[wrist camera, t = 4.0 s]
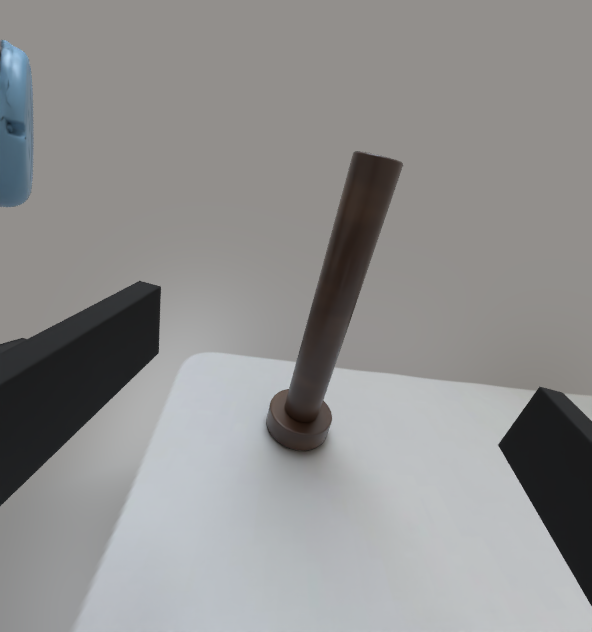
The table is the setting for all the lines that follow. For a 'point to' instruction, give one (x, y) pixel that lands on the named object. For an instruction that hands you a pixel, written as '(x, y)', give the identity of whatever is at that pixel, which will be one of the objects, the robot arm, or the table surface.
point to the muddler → (334, 301)
